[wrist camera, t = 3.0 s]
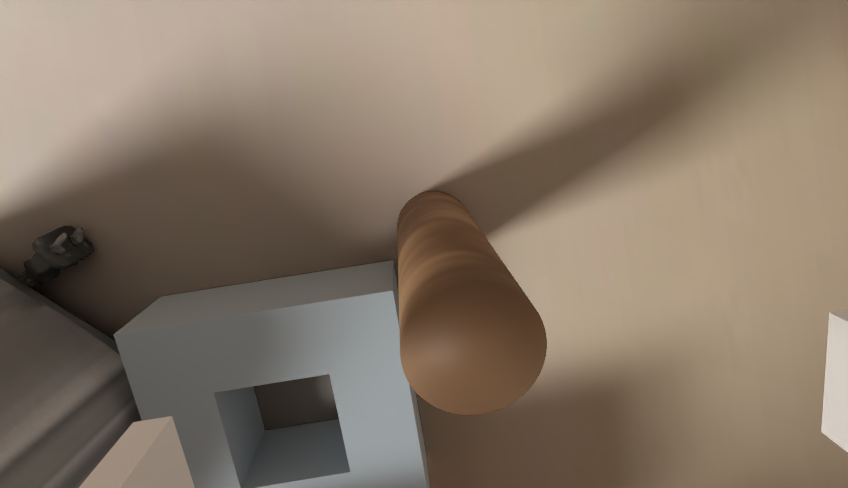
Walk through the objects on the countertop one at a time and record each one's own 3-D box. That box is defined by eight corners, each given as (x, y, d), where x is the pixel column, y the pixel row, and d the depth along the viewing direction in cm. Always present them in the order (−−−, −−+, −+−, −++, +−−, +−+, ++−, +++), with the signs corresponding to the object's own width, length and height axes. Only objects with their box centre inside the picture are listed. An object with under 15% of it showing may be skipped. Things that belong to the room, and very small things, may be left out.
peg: (403, 266, 29) (412, 425, 15) (391, 197, 28) (388, 293, 13) (473, 255, 29) (552, 402, 15) (465, 185, 28) (539, 268, 14)
